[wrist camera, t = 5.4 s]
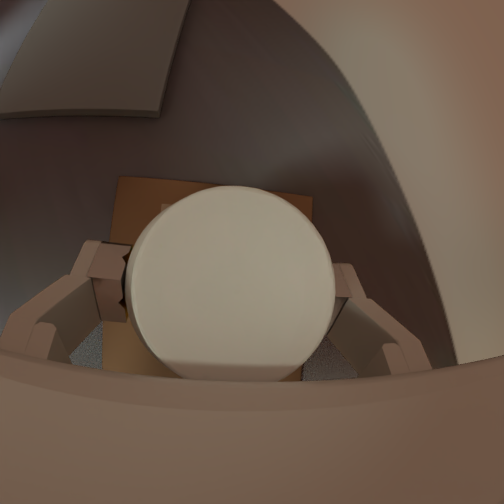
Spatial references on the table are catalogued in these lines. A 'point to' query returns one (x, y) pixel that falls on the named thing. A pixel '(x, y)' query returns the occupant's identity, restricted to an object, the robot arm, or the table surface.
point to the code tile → (127, 232)
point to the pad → (95, 59)
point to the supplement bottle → (230, 286)
